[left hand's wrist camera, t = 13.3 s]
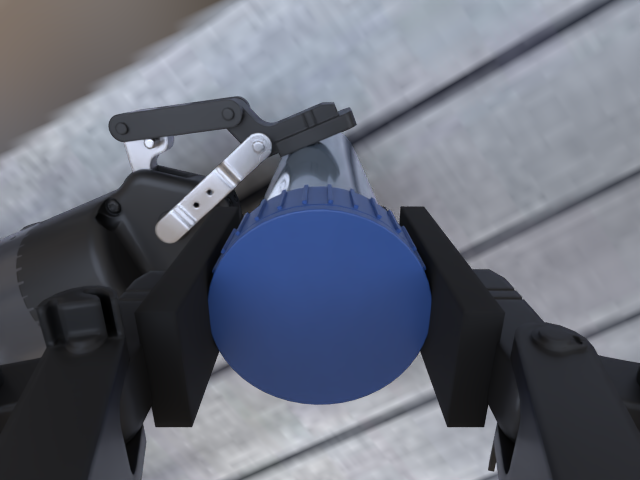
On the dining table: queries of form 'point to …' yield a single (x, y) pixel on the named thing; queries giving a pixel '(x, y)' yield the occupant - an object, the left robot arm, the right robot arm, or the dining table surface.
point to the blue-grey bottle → (321, 168)
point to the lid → (319, 297)
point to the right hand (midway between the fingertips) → (370, 168)
